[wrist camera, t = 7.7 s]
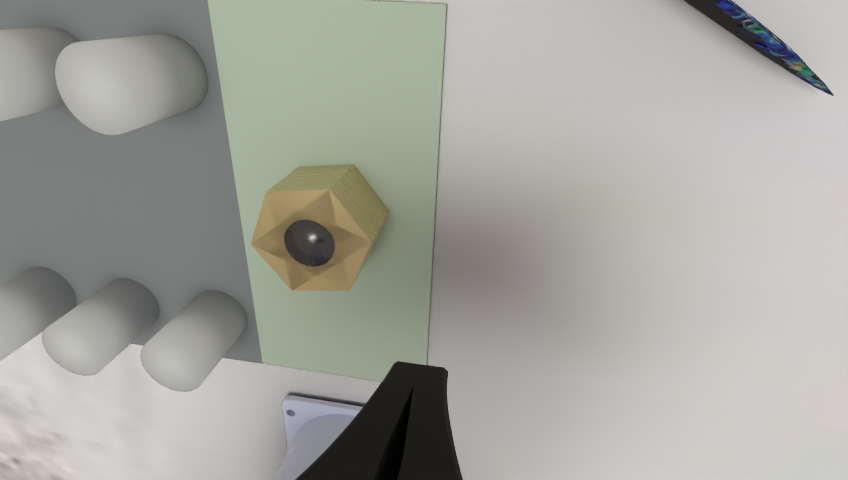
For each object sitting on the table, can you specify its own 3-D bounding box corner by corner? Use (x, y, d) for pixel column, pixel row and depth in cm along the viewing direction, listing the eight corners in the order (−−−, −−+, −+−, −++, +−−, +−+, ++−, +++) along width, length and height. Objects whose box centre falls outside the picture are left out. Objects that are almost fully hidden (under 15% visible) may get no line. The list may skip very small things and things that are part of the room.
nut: (396, 254, 21) (379, 291, 19) (293, 256, 22) (263, 291, 20) (382, 162, 19) (361, 188, 17) (271, 168, 20) (234, 193, 18)
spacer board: (425, 385, 25) (410, 453, 21) (-5, 320, 28) (-82, 368, 25) (446, 4, 17) (428, 5, 13) (-165, -25, 20) (-319, -31, 16)
